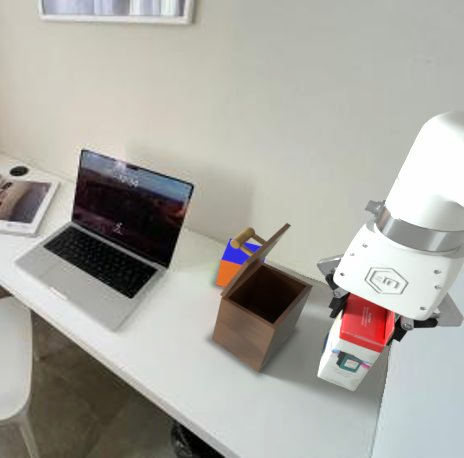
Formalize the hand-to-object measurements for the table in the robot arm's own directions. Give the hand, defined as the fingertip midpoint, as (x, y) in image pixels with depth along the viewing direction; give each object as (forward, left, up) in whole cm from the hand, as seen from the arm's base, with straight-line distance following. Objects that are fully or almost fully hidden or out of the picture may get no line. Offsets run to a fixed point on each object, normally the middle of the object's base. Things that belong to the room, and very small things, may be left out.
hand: (361, 324), depth 51 cm
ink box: (0, 0, -10) cm, 10 cm away
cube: (+23, -14, -18) cm, 33 cm away
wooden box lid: (+16, -2, 0) cm, 17 cm away
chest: (+13, -2, -18) cm, 23 cm away
